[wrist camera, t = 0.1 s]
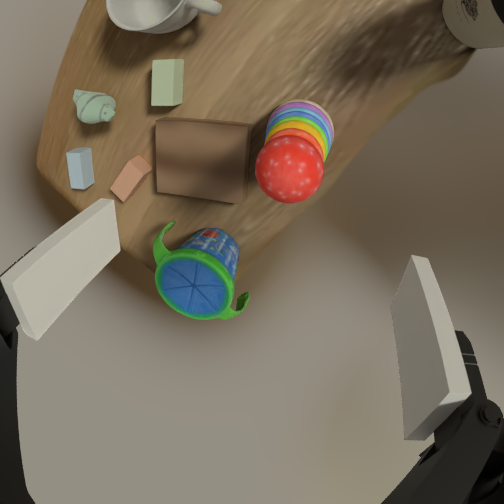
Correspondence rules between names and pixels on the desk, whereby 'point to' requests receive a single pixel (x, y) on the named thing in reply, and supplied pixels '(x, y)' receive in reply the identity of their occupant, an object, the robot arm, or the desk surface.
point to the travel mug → (476, 22)
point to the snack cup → (199, 274)
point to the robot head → (93, 106)
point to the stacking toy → (294, 151)
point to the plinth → (203, 158)
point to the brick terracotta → (131, 178)
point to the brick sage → (167, 82)
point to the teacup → (158, 13)
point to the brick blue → (80, 168)
